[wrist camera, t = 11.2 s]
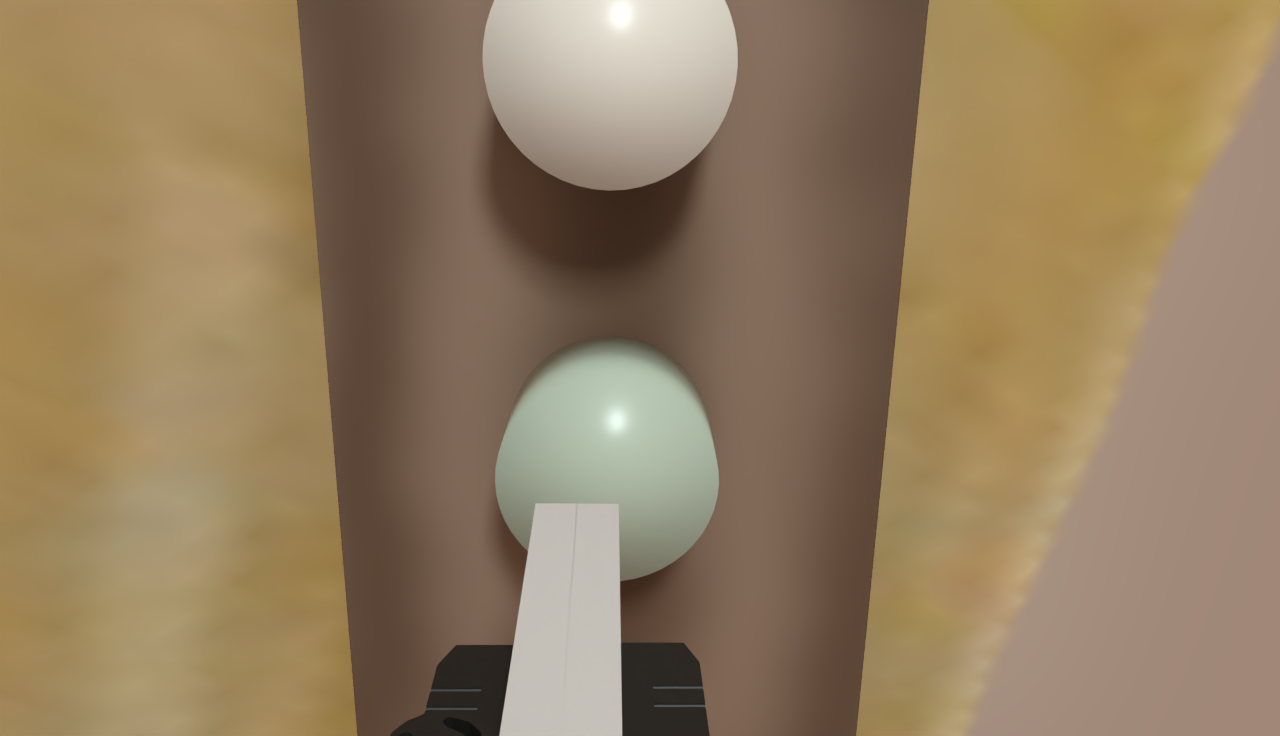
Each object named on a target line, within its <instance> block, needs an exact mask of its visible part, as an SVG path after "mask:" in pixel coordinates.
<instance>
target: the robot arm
mask: <svg viewBox="0 0 1280 736" xmlns="http://www.w3.org/2000/svg"><path fill="white" fill-rule="evenodd" d="M390 736H710V734H709V727H708V720H707V712H706V708H705V698H704V690H703V683H702V676H701V669H700V662H699V661H698V660H697V658H696V657H695V656H694V655H693V654H692V652H691V651H690V650H689V649H688V647H687V646H686V645H685V644H684V643H621V620H620V555H619V504H570V503H536V504H535V510H534V517H533V523H532V530H531V536H530V542H529V549H528V555H527V562H526V568H525V575H524V581H523V587H522V594H521V600H520V607H519V613H518V619H517V626H516V632H515V639H514V645H456V646H455V647H454V648H453V649H452V650H451V651H450V652H449V653H448V654H447V655H446V656H445V657H444V658H443V659H442V660H441V662H440V663H439V664H438V665H437V668H436V672H435V675H434V679H433V683H432V686H431V692H430V694H429V698H428V701H427V705H426V711H425V712H424V714H423V715H420V716H418V717H415V718H413V719H410V720H407V721H406V722H405V723H403V724H402V725H401V726H399V727H398V728H397V729H395V730H394V731H393V732H392V733H391V735H390Z"/></svg>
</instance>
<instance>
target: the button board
mask: <svg viewBox="0 0 1280 736" xmlns="http://www.w3.org/2000/svg"><path fill="white" fill-rule="evenodd" d="M725 1H726V4H727V6H728V9H729V11H730V14H731V17H732V21H733V24H734V28H735V33H736V40H737V47H738V68H737V77H736V84H735V88H734V92H733V96H732V100H731V103H730V105H729V108H728V111H727V113H726V116H725V117H724V119H723V121H722V123H721V125H720V127H719V129H718V130H717V132H716V133H715V135H714V136H713V138H712V139H711V140H710V142H709V143H708V144H707V146H706V147H705V148H704V149H703V150H702V151H701V152H700V153H699V154H698V155H697V156H696V157H695V158H694V159H693V160H691V161H690V162H689V163H688V164H687V165H686V166H684V167H683V168H681V169H680V170H678V171H677V172H675V173H673V174H672V175H670V176H668V177H666V178H664V179H662V180H660V181H657V182H655V183H652V184H649V185H645V186H642V187H638V188H632V189H627V190H611V191H608V190H596V189H590V188H585V187H580V186H576V185H574V184H571V183H568V182H565V181H562V180H560V179H558V178H557V177H555V176H553V175H551V174H549V173H547V172H546V171H544V170H543V169H541V168H540V167H538V166H537V165H535V164H534V163H533V162H532V161H531V160H529V159H528V158H527V157H526V156H525V155H524V154H523V153H522V152H521V151H520V150H519V149H518V148H517V147H516V146H515V144H514V143H513V142H512V141H511V140H510V138H509V137H508V135H507V134H506V132H505V131H504V129H503V128H502V126H501V125H500V123H499V121H498V119H497V117H496V115H495V113H494V111H493V108H492V105H491V102H490V99H489V96H488V93H487V89H486V84H485V80H484V72H483V61H482V58H483V40H484V34H485V27H486V23H487V20H488V16H489V13H490V10H491V7H492V5H493V2H494V0H297V5H298V17H299V29H300V41H301V54H302V66H303V78H304V90H305V102H306V114H307V126H308V139H309V151H310V163H311V175H312V187H313V199H314V212H315V224H316V236H317V248H318V260H319V272H320V284H321V297H322V309H323V321H324V333H325V345H326V357H327V369H328V382H329V394H330V406H331V418H332V430H333V442H334V454H335V467H336V479H337V491H338V503H339V515H340V527H341V539H342V552H343V564H344V576H345V588H346V600H347V612H348V624H349V637H350V649H351V661H352V673H353V685H354V697H355V710H356V722H357V734H358V736H390V735H391V733H392V732H393V731H394V730H395V729H397V728H398V727H399V726H401V725H402V724H403V723H405V722H406V721H407V720H410V719H413V718H415V717H418V716H420V715H423V714H424V712H425V711H426V705H427V701H428V698H429V694H430V692H431V686H432V683H433V679H434V675H435V672H436V668H437V665H438V664H439V663H440V662H441V660H442V659H443V658H444V657H445V656H446V655H447V654H448V653H449V652H450V651H451V650H452V649H453V648H454V647H455V646H456V645H514V639H515V632H516V626H517V619H518V613H519V607H520V600H521V594H522V587H523V581H524V575H525V568H526V562H527V555H528V551H527V550H526V549H525V548H524V547H523V546H522V545H521V544H520V543H519V542H518V540H517V539H516V538H515V536H514V535H513V534H512V532H511V531H510V529H509V527H508V525H507V524H506V522H505V520H504V518H503V515H502V513H501V510H500V508H499V504H498V500H497V496H496V487H495V468H496V462H497V457H498V453H499V450H500V447H501V443H502V440H503V437H504V434H505V431H506V428H507V424H508V421H509V418H510V415H511V412H512V409H513V405H514V403H515V400H516V397H517V394H518V392H519V390H520V388H521V386H522V384H523V383H524V382H525V380H526V379H527V377H528V376H529V374H530V373H531V372H532V371H533V370H534V369H535V368H536V367H537V366H538V365H539V364H540V363H541V362H542V361H543V360H545V359H546V358H547V357H548V356H550V355H551V354H553V353H555V352H556V351H558V350H559V349H562V348H564V347H566V346H568V345H570V344H573V343H576V342H580V341H583V340H588V339H593V338H603V337H615V338H626V339H630V340H635V341H639V342H642V343H645V344H648V345H650V346H652V347H654V348H656V349H659V350H661V351H662V352H664V353H665V354H667V355H668V356H670V357H671V358H673V359H674V360H675V361H676V362H677V363H679V364H680V365H681V366H682V367H683V368H684V369H685V370H686V372H687V373H688V374H689V375H690V376H691V378H692V379H693V381H694V382H695V384H696V385H697V387H698V388H699V391H700V393H701V395H702V397H703V399H704V402H705V406H706V409H707V413H708V418H709V423H710V428H711V433H712V438H713V443H714V449H715V454H716V459H717V465H718V471H719V488H718V496H717V501H716V504H715V508H714V511H713V514H712V516H711V519H710V521H709V523H708V525H707V527H706V528H705V530H704V532H703V533H702V535H701V536H700V537H699V539H698V540H697V541H696V542H695V544H694V545H693V546H692V547H691V548H690V549H689V550H688V551H687V552H686V553H685V554H684V555H682V556H681V557H680V558H678V559H677V560H676V561H674V562H673V563H671V564H670V565H668V566H666V567H664V568H663V569H661V570H658V571H656V572H654V573H651V574H649V575H646V576H643V577H639V578H636V579H630V580H624V581H620V620H621V643H684V644H685V645H686V646H687V647H688V649H689V650H690V651H691V652H692V654H693V655H694V656H695V657H696V658H697V660H698V661H699V662H700V669H701V676H702V683H703V690H704V698H705V708H706V712H707V720H708V727H709V734H710V736H856V730H857V720H858V710H859V700H860V690H861V680H862V669H863V659H864V649H865V639H866V629H867V619H868V609H869V599H870V589H871V579H872V569H873V558H874V548H875V538H876V528H877V518H878V508H879V498H880V488H881V478H882V468H883V458H884V447H885V437H886V427H887V417H888V407H889V397H890V387H891V377H892V367H893V357H894V347H895V337H896V326H897V316H898V306H899V296H900V286H901V276H902V266H903V256H904V246H905V236H906V226H907V215H908V205H909V195H910V185H911V175H912V165H913V155H914V145H915V135H916V125H917V115H918V104H919V94H920V84H921V74H922V64H923V54H924V44H925V34H926V24H927V14H928V4H929V0H725Z"/></svg>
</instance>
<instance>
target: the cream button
mask: <svg viewBox="0 0 1280 736" xmlns="http://www.w3.org/2000/svg"><path fill="white" fill-rule="evenodd" d="M482 61H483V72H484V80H485V84H486V89H487V93H488V96H489V99H490V102H491V105H492V108H493V111H494V113H495V115H496V117H497V119H498V121H499V123H500V125H501V126H502V128H503V129H504V131H505V132H506V134H507V135H508V137H509V138H510V140H511V141H512V142H513V143H514V144H515V146H516V147H517V148H518V149H519V150H520V151H521V152H522V153H523V154H524V155H525V156H526V157H527V158H528V159H529V160H531V161H532V162H533V163H534V164H535V165H537V166H538V167H540V168H541V169H543V170H544V171H546V172H547V173H549V174H551V175H553V176H555V177H557V178H558V179H560V180H562V181H565V182H568V183H571V184H574V185H576V186H580V187H585V188H590V189H596V190H608V191H611V190H627V189H632V188H638V187H642V186H645V185H649V184H652V183H655V182H657V181H660V180H662V179H664V178H666V177H668V176H670V175H672V174H673V173H675V172H677V171H678V170H680V169H681V168H683V167H684V166H686V165H687V164H688V163H689V162H690V161H691V160H693V159H694V158H695V157H696V156H697V155H698V154H699V153H700V152H701V151H702V150H703V149H704V148H705V147H706V146H707V144H708V143H709V142H710V140H711V139H712V138H713V136H714V135H715V133H716V132H717V130H718V129H719V127H720V125H721V123H722V121H723V119H724V117H725V116H726V113H727V111H728V108H729V105H730V103H731V100H732V96H733V92H734V88H735V84H736V77H737V68H738V47H737V40H736V33H735V28H734V24H733V21H732V17H731V14H730V11H729V9H728V6H727V4H726V1H725V0H494V2H493V5H492V7H491V10H490V13H489V16H488V20H487V23H486V27H485V34H484V40H483V58H482Z"/></svg>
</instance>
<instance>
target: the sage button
mask: <svg viewBox="0 0 1280 736" xmlns="http://www.w3.org/2000/svg"><path fill="white" fill-rule="evenodd" d="M495 487H496V496H497V500H498V504H499V508H500V510H501V513H502V515H503V518H504V520H505V522H506V524H507V525H508V527H509V529H510V531H511V532H512V534H513V535H514V536H515V538H516V539H517V540H518V542H519V543H520V544H521V545H522V546H523V547H524V548H525V549H526V550H527V551H528V549H529V542H530V536H531V530H532V523H533V517H534V510H535V504H536V503H570V504H619V555H620V581H624V580H630V579H636V578H639V577H643V576H646V575H649V574H651V573H654V572H656V571H658V570H661V569H663V568H664V567H666V566H668V565H670V564H671V563H673V562H674V561H676V560H677V559H678V558H680V557H681V556H682V555H684V554H685V553H686V552H687V551H688V550H689V549H690V548H691V547H692V546H693V545H694V544H695V542H696V541H697V540H698V539H699V537H700V536H701V535H702V533H703V532H704V530H705V528H706V527H707V525H708V523H709V521H710V519H711V516H712V514H713V511H714V508H715V504H716V501H717V496H718V488H719V471H718V465H717V459H716V454H715V449H714V443H713V438H712V433H711V428H710V423H709V418H708V413H707V409H706V406H705V402H704V399H703V397H702V395H701V393H700V391H699V388H698V387H697V385H696V384H695V382H694V381H693V379H692V378H691V376H690V375H689V374H688V373H687V372H686V370H685V369H684V368H683V367H682V366H681V365H680V364H679V363H677V362H676V361H675V360H674V359H673V358H671V357H670V356H668V355H667V354H665V353H664V352H662V351H661V350H659V349H656V348H654V347H652V346H650V345H648V344H645V343H642V342H639V341H635V340H630V339H626V338H615V337H603V338H593V339H588V340H583V341H580V342H576V343H573V344H570V345H568V346H566V347H564V348H562V349H559V350H558V351H556V352H555V353H553V354H551V355H550V356H548V357H547V358H546V359H545V360H543V361H542V362H541V363H540V364H539V365H538V366H537V367H536V368H535V369H534V370H533V371H532V372H531V373H530V374H529V376H528V377H527V379H526V380H525V382H524V383H523V384H522V386H521V388H520V390H519V392H518V394H517V397H516V400H515V403H514V405H513V409H512V412H511V415H510V418H509V421H508V424H507V428H506V431H505V434H504V437H503V440H502V443H501V447H500V450H499V453H498V457H497V462H496V468H495Z"/></svg>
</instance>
